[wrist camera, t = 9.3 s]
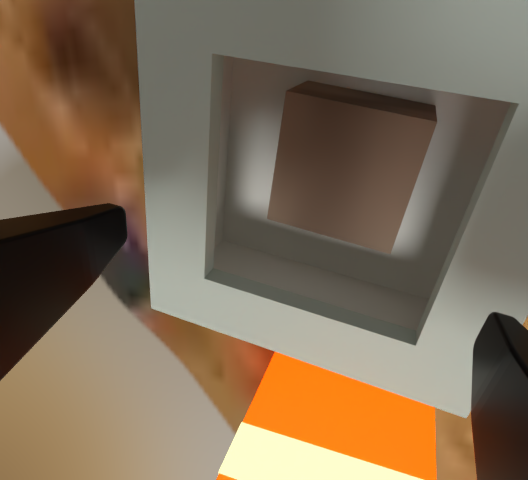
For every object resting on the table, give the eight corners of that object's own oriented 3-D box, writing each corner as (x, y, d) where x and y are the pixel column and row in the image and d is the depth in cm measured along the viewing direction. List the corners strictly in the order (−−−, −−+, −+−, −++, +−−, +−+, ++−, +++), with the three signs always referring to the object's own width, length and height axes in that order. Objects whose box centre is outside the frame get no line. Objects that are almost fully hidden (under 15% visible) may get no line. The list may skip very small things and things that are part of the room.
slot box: (603, 3, 12) (722, -10, 7) (455, 315, 19) (466, 418, 14) (225, -36, 15) (130, -64, 10) (212, 244, 22) (151, 308, 17)
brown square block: (435, 105, 15) (437, 121, 12) (395, 221, 17) (390, 254, 15) (307, 80, 16) (285, 90, 13) (288, 192, 18) (266, 219, 16)
